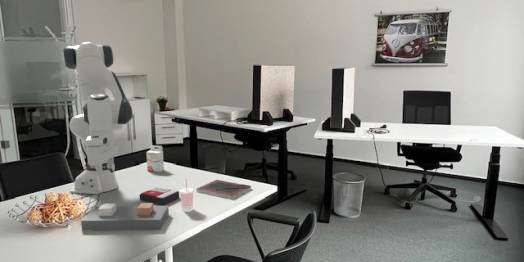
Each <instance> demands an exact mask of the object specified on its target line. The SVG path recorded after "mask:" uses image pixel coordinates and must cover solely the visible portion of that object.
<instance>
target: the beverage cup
mask: <svg viewBox="0 0 524 262" xmlns="http://www.w3.org/2000/svg"><path fill="white" fill-rule="evenodd" d="M194 191H195V189H194V188H193V187H188V179H187V178H185V187H183V188H180V189H179V197H180V203H181V210H182V212H185V213H189V212H192V211H193V210H194Z"/></svg>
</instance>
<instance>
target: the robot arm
mask: <svg viewBox="0 0 524 262" xmlns="http://www.w3.org/2000/svg"><path fill="white" fill-rule="evenodd" d="M61 61H62V62H63V64H64V65H65V67H67V69H71V70H76V69H77V72H78V73H77V74H78V77H79V78H78V79H79V88H80V94H81V100H82V101H83V103H84V104H85V105H84V106H82V111H83V113H81V114H78V115H75V116H72V117H71V119H70V121H69V130H70V131H71V133H72V134H73V136H75V137H77V138H79V139H80V140H81V141H82V142H83V143H84V145H85V147H86V157H87V162H86V163H85V164H84V165H83V167H84V168H85V169H84V170H83V171H82V172H81V173H79V175H77V176H76V178H75V180H74V185H72V186H71V188H70V189H69V192H70V193H71V194H72V193H73V194H90V195H98V194H102V193H105V192H111V191H113V190H116V189H117V188H118V187H119V184H118V181H117V178H116V174H115V168H116V167H115V160H114V156H116V155H117V154H118V152H119V151H118V144H117V138H116V137H115V132H117V131H121V130H122V128H123V126H124V125H127V124H128V123H129V122H130V121H131V120H132V119H133V115H134V113H133V108H132V105H131V103H130V102H129V100H128V98H127V96H126V94H125V92H124V90H123V88H122V85H121V83H120V81H119V79H118V77H117V75H116V73H115V72H114V71H112V70H110V69H109V68H110V67H111V66H112V65H114V61H115V53H114V51H113V49H112V47H111V46H110V45H108V44H95V43H94V42H90V41H87V42H86V41H85V42H82V43H80V44H79V45H74V46H73V45H69V46H66V47H64V48H63V50H62V54H61ZM106 89H108V90H109V91H110V92H111V94H112V97H113V99H114V100H111V99H110V96H109V95H108V94H107V90H106Z"/></svg>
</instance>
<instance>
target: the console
mask: <svg viewBox="0 0 524 262" xmlns="http://www.w3.org/2000/svg"><path fill="white" fill-rule="evenodd" d="M138 206H139V205H125V206H124V205H122V206H121V205H120V206H119V205H116V213H115V214H114V215H113V216H99V208H100V207H101V206H95V207H93V209H92V210H91V211H90V212H89V213H87V214H86V215H85V216H84V218H83V219H81V220H80V222H81V223H80V225H81V231H83V230H84V231H85V230H86V231H87V230H91V231H141V230H142V231H144V230H148V231H149V230H162V228H163V226H164V224H165V222H166V221H167V219H168V217H169V215H170V214H169V213H170V212H169V211H170V210H169V205H164V206H162V205H153V209H154V211H153V213H152V214H151V215H143V216H138V215H137V207H138ZM87 232H88V231H87Z"/></svg>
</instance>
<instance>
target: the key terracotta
mask: <svg viewBox="0 0 524 262" xmlns="http://www.w3.org/2000/svg"><path fill="white" fill-rule="evenodd" d="M137 206H138V207H137V215H138V216H143V215H151V214H152V213H153V211H154V209H153V206H154V203H150V202H144V203H140V204H139V205H137Z"/></svg>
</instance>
